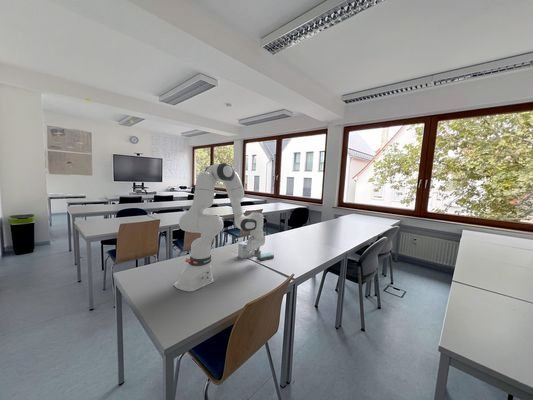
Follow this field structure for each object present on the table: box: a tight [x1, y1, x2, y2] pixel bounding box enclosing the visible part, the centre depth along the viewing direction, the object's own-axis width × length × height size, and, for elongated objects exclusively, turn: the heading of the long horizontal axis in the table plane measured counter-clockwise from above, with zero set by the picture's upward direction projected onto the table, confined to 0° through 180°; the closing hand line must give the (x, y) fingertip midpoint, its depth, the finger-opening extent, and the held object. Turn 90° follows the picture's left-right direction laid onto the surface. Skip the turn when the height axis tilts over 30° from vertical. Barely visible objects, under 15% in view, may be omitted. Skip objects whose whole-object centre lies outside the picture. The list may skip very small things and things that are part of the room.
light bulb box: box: [237, 240, 253, 259], centre depth 172 cm, size 11×7×11 cm, turn 130°
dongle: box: [249, 249, 262, 259], centre depth 158 cm, size 9×4×4 cm, turn 62°
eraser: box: [256, 252, 275, 262], centre depth 169 cm, size 12×5×3 cm, turn 123°
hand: (255, 253), depth 158 cm, fingers closed on dongle, 3 cm apart
